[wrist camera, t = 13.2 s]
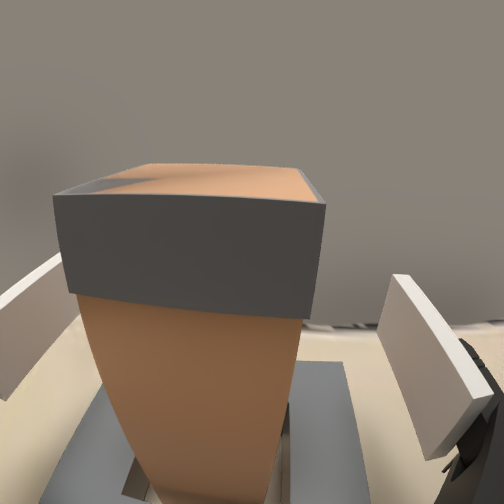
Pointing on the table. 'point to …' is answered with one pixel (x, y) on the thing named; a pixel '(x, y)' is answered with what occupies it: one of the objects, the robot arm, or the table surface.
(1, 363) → the robot arm
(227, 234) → the plug
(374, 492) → the table surface
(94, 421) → the socket block
